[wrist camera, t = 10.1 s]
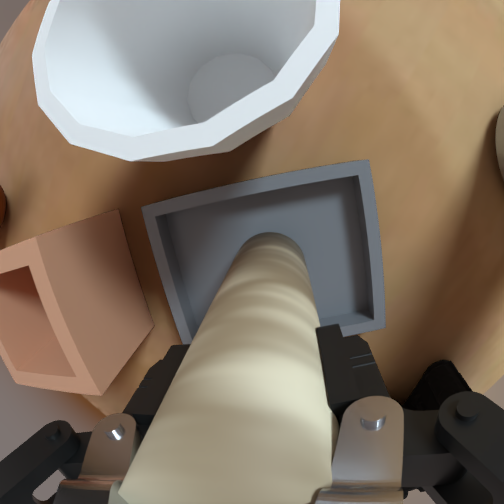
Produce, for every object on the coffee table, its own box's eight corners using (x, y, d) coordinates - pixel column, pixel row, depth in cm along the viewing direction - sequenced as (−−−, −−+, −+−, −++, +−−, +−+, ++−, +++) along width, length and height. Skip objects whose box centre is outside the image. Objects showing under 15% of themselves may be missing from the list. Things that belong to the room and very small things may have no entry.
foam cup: (254, 191, 20) (206, 232, 7) (143, 124, 19) (-1, 96, 6) (331, 76, 17) (395, -37, 4) (215, 17, 16) (149, -102, 4)
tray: (358, 160, 18) (368, 159, 16) (376, 311, 21) (385, 327, 19) (156, 202, 20) (140, 207, 18) (196, 339, 23) (187, 357, 21)
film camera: (383, 342, 22) (421, 420, 13) (463, 359, 22) (507, 419, 13) (312, 453, 26) (315, 522, 17) (387, 458, 26) (401, 518, 17)
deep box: (118, 208, 21) (35, 236, 12) (154, 325, 23) (101, 395, 14) (38, 235, 22) (-35, 265, 13) (72, 331, 24) (15, 383, 16)
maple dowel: (299, 225, 18) (358, 474, 3) (310, 292, 19) (349, 552, 4) (228, 239, 19) (73, 461, 3) (243, 303, 20) (172, 550, 4)
